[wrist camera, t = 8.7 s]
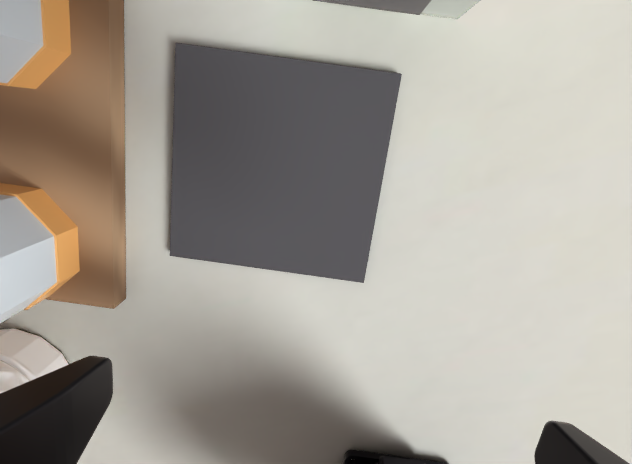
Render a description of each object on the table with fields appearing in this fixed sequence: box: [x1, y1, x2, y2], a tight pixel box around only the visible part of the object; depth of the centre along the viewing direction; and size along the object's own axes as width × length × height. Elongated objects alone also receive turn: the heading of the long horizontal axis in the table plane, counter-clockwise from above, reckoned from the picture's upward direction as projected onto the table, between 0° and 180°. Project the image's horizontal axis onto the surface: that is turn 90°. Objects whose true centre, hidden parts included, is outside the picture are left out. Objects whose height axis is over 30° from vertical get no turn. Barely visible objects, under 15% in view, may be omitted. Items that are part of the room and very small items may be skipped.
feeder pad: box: [170, 43, 402, 283], centre depth 18 cm, size 10×10×1 cm
